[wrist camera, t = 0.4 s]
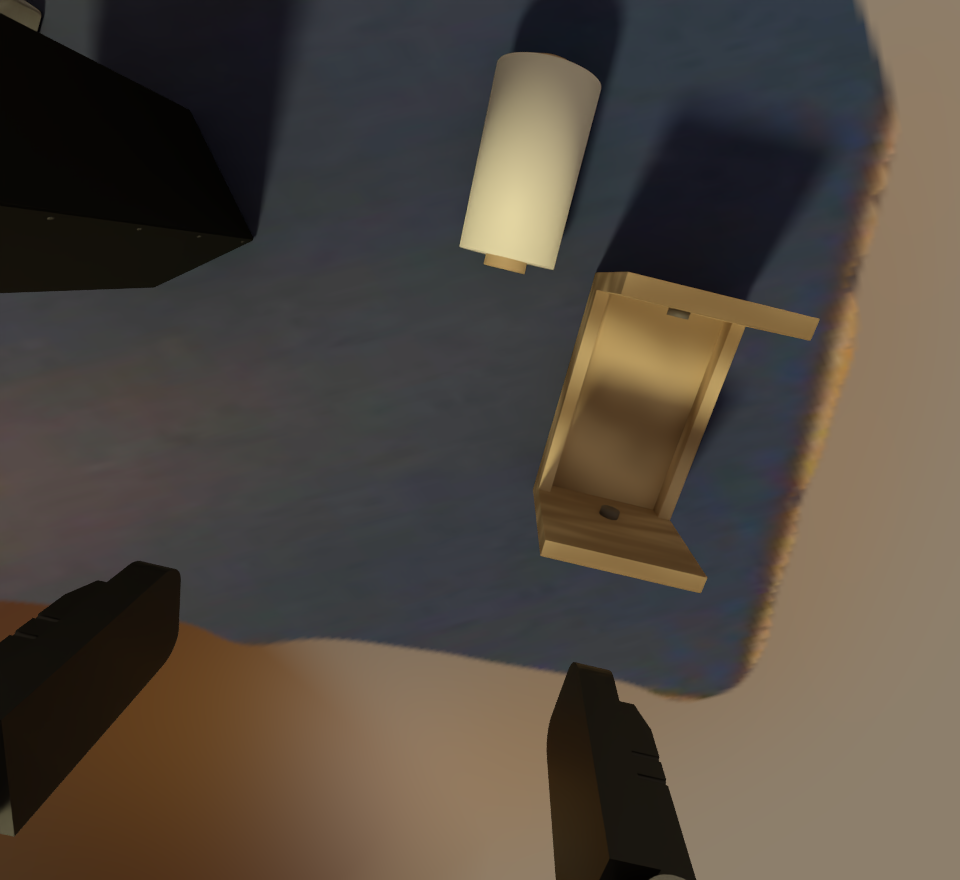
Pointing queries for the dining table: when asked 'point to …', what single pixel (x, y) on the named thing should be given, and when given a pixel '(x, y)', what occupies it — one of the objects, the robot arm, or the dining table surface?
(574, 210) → the dining table surface
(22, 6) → the coffee box
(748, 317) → the holder
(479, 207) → the cylinder
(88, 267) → the tissue box
